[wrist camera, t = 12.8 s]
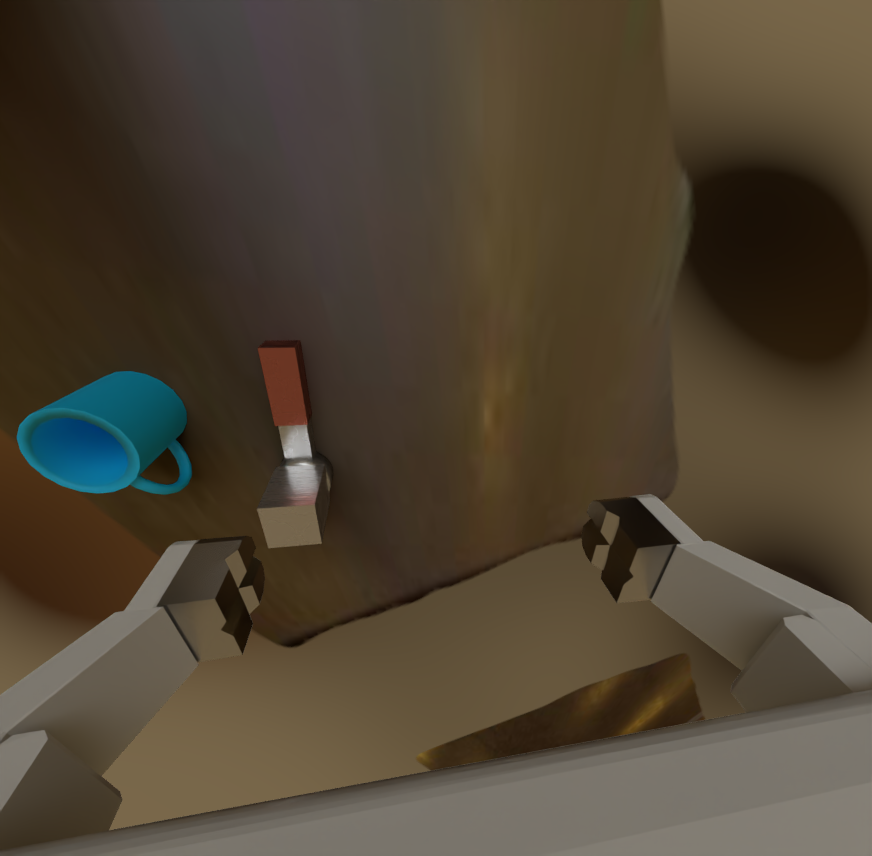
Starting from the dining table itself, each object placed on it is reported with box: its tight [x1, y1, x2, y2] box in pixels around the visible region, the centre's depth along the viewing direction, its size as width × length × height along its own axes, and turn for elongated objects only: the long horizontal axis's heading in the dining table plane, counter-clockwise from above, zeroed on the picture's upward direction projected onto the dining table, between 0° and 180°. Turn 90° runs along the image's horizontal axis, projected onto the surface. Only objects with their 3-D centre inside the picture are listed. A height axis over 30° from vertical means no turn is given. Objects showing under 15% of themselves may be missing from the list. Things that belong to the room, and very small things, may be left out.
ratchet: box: [258, 340, 333, 492], centre depth 35 cm, size 18×6×6 cm, turn 179°
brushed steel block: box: [257, 464, 330, 548], centre depth 36 cm, size 5×5×6 cm
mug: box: [17, 371, 192, 495], centre depth 33 cm, size 12×8×8 cm
